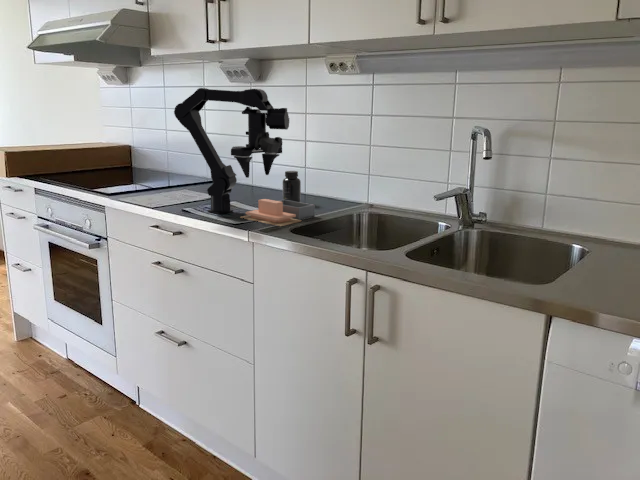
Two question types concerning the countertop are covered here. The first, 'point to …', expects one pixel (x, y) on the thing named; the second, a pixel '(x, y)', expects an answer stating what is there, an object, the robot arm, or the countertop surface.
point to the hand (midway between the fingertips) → (257, 176)
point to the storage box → (298, 209)
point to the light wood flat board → (271, 221)
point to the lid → (270, 211)
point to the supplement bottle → (292, 186)
